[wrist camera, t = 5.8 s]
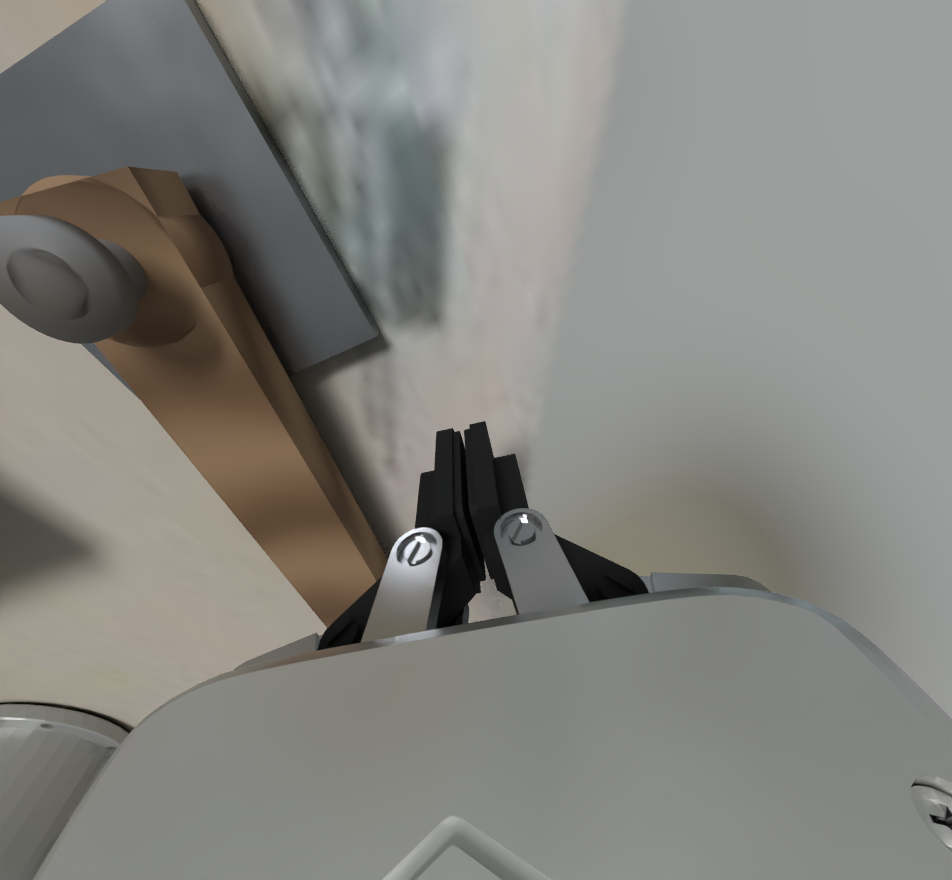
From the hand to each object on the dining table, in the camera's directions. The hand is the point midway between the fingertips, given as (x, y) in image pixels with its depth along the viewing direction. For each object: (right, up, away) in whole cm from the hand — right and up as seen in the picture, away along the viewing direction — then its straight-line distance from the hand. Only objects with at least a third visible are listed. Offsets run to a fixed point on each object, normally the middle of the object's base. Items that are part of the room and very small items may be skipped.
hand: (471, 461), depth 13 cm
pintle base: (-10, +7, 0) cm, 13 cm away
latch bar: (-8, -1, +5) cm, 9 cm away
